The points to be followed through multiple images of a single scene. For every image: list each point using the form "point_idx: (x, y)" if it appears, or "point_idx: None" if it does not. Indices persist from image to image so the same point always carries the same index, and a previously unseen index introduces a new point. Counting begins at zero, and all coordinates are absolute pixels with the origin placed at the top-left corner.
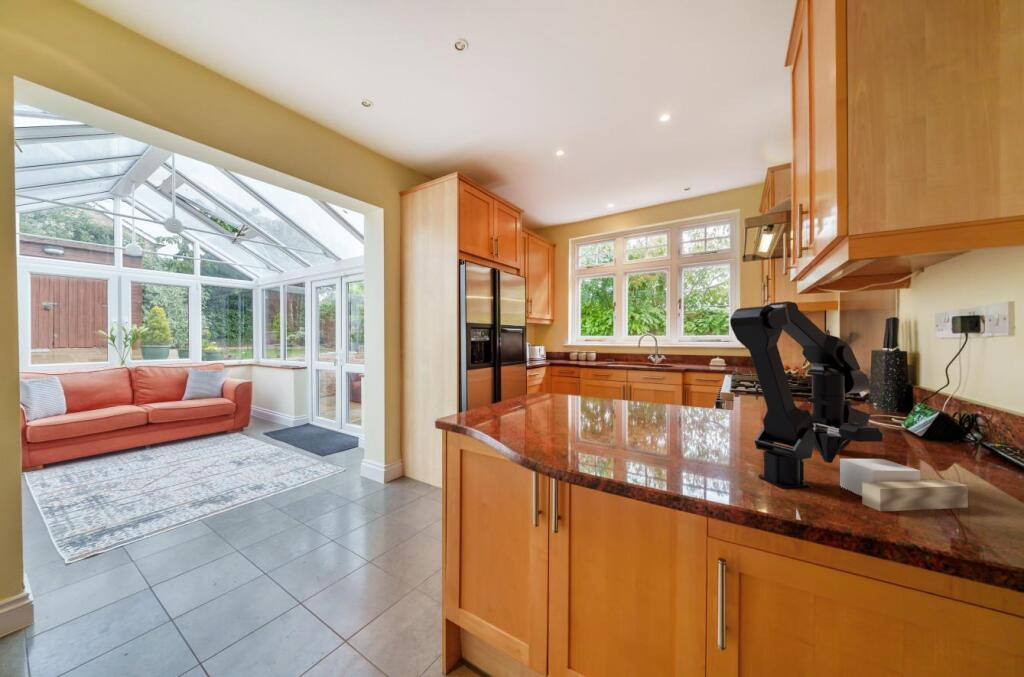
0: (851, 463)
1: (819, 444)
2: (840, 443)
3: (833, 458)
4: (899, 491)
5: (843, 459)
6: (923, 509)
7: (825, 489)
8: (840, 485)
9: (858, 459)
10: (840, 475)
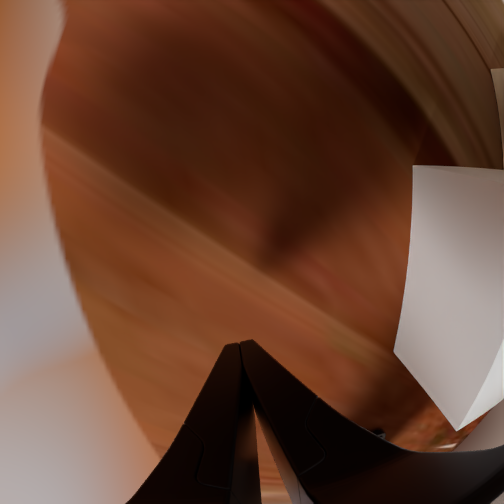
0: (493, 402)
1: (260, 500)
2: (376, 450)
3: (268, 357)
4: None
5: (468, 421)
6: None
7: (400, 398)
8: (397, 354)
9: (498, 363)
10: (419, 379)
